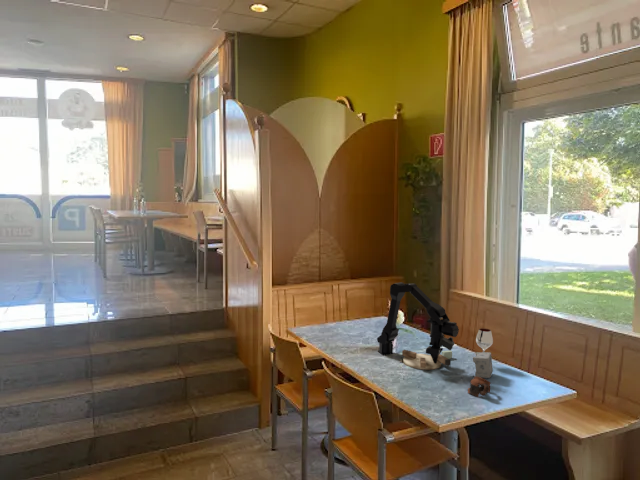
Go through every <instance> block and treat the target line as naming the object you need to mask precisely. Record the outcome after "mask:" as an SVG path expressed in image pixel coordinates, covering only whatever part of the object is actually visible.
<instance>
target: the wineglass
mask: <svg viewBox="0 0 640 480" xmlns="http://www.w3.org/2000/svg"><path fill="white" fill-rule="evenodd" d="M477 331H478V332H477V333H476V338H475V342H476V344H477V346H478V347H479V348H481V350H482V352H485V351H486V350H487V349H489V348H490V347H491V346H492V345H493V343H494V338H493V334H492V330H491V329H489V328H485V327H484V328H483V327H481V328H479V329H478V330H477Z"/></svg>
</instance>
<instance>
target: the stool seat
mask: <svg viewBox="0 0 640 480" xmlns="http://www.w3.org/2000/svg"><path fill="white" fill-rule="evenodd" d="M401 352H402V353H401V356H403V359H402V360H403V364H404V365H405V366H407V367H409V368H412V369H416V370H423V371H430V370H437V369H439V368H441V367H442V363H441V362H439V361H438V360H437V363H434V362H433V359H432V357H431V355H430V354H427V353H417V352H415V351H411V350H408V349H403V350H402V351H401Z"/></svg>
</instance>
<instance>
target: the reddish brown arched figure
mask: <svg viewBox="0 0 640 480" xmlns="http://www.w3.org/2000/svg"><path fill="white" fill-rule="evenodd" d="M469 381H470V387H468V388H467V394H469V395H470V394H471V395H472V396H474V397H477V398H479V396H480V395H481V397H485V396H486V394H487V393H490V392H491V383H492V382H490V380H488V379H485V378H483V377H477V376H475V375H474V376H473V378H471V380H469Z"/></svg>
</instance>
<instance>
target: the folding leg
mask: <svg viewBox="0 0 640 480" xmlns="http://www.w3.org/2000/svg"><path fill="white" fill-rule="evenodd" d="M438 361H439V362H441V364H443V365H445V366H447V367H448V366H451V363H452V362H451V361H452V360H451V358H450V359H448V358H446V357H444V356H443V355H442V353H440V354H439V356H438Z"/></svg>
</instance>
